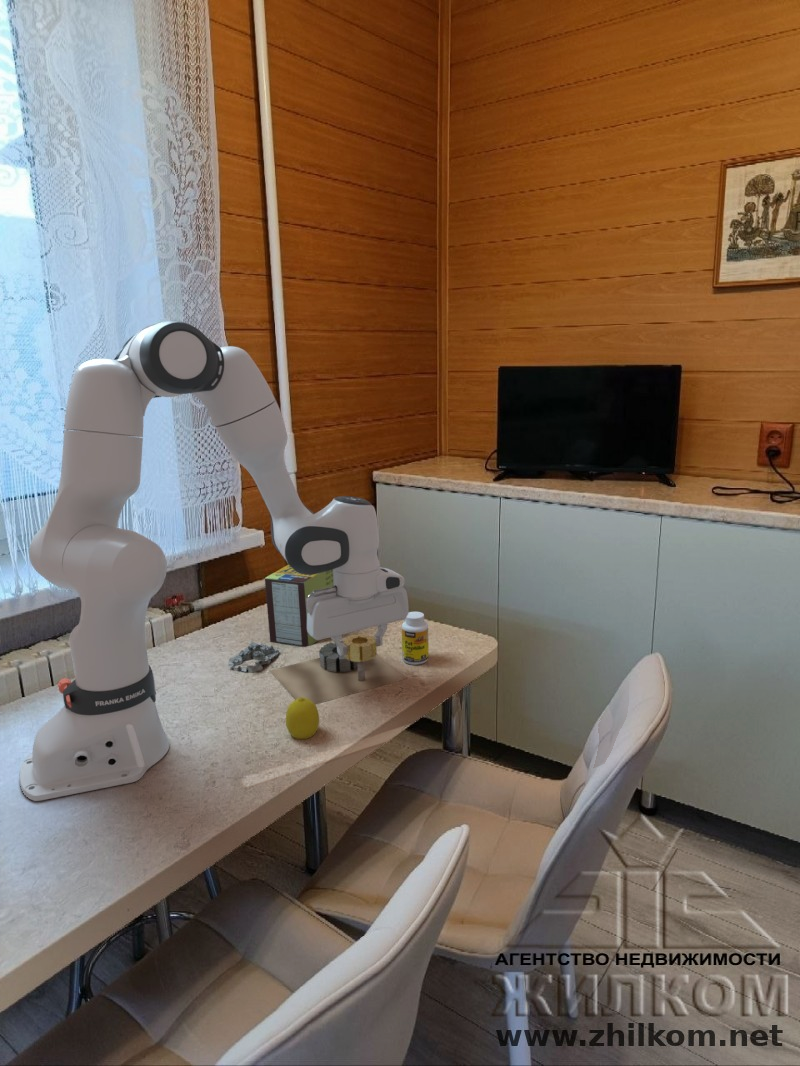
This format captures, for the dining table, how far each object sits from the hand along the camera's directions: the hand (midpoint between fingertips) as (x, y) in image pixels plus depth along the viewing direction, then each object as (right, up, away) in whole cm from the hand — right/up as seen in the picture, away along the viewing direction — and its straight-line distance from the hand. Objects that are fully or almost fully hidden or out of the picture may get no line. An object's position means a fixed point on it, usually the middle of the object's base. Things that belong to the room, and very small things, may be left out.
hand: (360, 649), depth 135 cm
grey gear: (-4, -4, +9) cm, 11 cm away
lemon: (-9, -13, -16) cm, 22 cm away
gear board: (-5, -7, +4) cm, 10 cm away
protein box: (-14, -1, +29) cm, 33 cm away
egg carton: (-23, -6, +12) cm, 26 cm away
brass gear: (0, -1, 0) cm, 1 cm away
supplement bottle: (+11, -5, +13) cm, 18 cm away
